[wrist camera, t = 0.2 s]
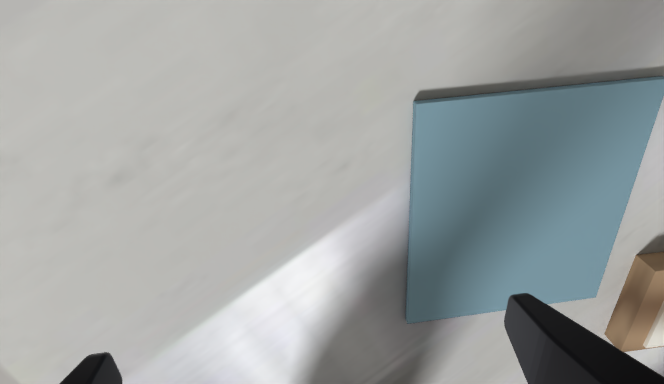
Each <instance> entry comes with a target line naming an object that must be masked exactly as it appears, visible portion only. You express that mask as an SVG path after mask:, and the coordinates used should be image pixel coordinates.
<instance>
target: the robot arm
mask: <svg viewBox="0 0 664 384" xmlns="http://www.w3.org/2000/svg"><path fill="white" fill-rule="evenodd" d="M504 324H505V329H506V332H507V334H508V336H509V339H510V341H511V344H512V346H513V349H514V351H515V353H516V356H517V358H518V361H519V363H520V366H521V368H522V370H523V373H524V375H525V378H526V380H527V382H528V384H664V377H663V376H661V375H660V374H658V373H657V372H655V371H653V370H652V369H650V368H648V367H647V366H645V365H644V364H642V363H640V362H639V361H637V360H636V359H634V358H632V357H631V356H629V355H628V354H626V353H624V352H623V351H621V350H619V349H618V348H616V347H615V346H613V345H611V344H610V343H608V342H607V341H605V340H603V339H602V338H600V337H599V336H597V335H595V334H594V333H592V332H590V331H589V330H587V329H586V328H584V327H582V326H581V325H579V324H578V323H576V322H574V321H573V320H571V319H570V318H568V317H566V316H565V315H563V314H561V313H560V312H558V311H557V310H555V309H553V308H552V307H550V306H549V305H547V304H545V303H544V302H542V301H541V300H539V299H537V298H536V297H534V296H533V295H531V294H528V293H520V294H513V295H511V296H510V297H509V299H508V303H507V308H506V313H505V319H504ZM60 384H122V377H121V374H120V372H119V370H118V368H117V366H116V363H115V361H114V359H113V357H112V355H111V354H110V353H108V352H104V353H97V354H91V355H89V356H87V357H86V358H85V359H84V360H83V361H82V362H81V363H80V364H79V365H78V366H77V367H76V368H75V369H74V370H73V371H72V372H71V373H70V374H69V375H68V376H67V377H66V378H65V379H64V380H63V381H62V382H61V383H60Z"/></svg>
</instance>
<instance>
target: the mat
mask: <svg viewBox="0 0 664 384" xmlns="http://www.w3.org/2000/svg"><path fill="white" fill-rule="evenodd" d="M663 96H664V77H663V76H658V77H648V78H638V79H628V80H618V81H609V82H599V83H589V84H579V85H569V86H559V87H549V88H539V89H529V90H519V91H509V92H499V93H489V94H479V95H470V96H460V97H450V98H440V99H430V100H420V101H414V102H413V129H412V157H411V184H410V212H409V240H408V267H407V295H406V321H407V324H410V323H417V322H424V321H431V320H438V319H446V318H453V317H460V316H467V315H474V314H481V313H488V312H495V311H502V310H506V308H507V303H508V299H509V297H510V296H511V295H513V294H520V293H528V294H531V295H533V296H534V297H536V298H537V299H539V300H541V301H542V302H544V303H545V304H552V303H559V302H566V301H573V300H580V299H587V298H594V297H596V295H597V292H598V289H599V286H600V283H601V280H602V277H603V274H604V271H605V268H606V265H607V262H608V259H609V256H610V253H611V250H612V247H613V244H614V241H615V238H616V235H617V233H618V230H619V227H620V224H621V221H622V218H623V215H624V212H625V209H626V206H627V203H628V200H629V197H630V194H631V191H632V188H633V185H634V182H635V179H636V176H637V173H638V170H639V167H640V164H641V161H642V158H643V155H644V152H645V149H646V146H647V143H648V140H649V137H650V134H651V132H652V129H653V126H654V123H655V120H656V117H657V114H658V111H659V108H660V105H661V102H662V99H663Z"/></svg>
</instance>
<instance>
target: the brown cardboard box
mask: <svg viewBox="0 0 664 384" xmlns="http://www.w3.org/2000/svg"><path fill="white" fill-rule="evenodd" d="M605 335H606V337H607V338H608V339H609V340H610V341H611V342H612V344H613V345H614V346H615V347H616V348H618V349H619V350H621V351H623V352H627V351H634V350H642V349H649V348H656V347H664V252H658V253H649V254H640V255H636V257H635V259H634V261H633V264H632V266H631V269H630V271H629V274H628V276H627V279H626V281H625V284H624V286H623V289H622V291H621V294H620V296H619V299H618V301H617V304H616V306H615V309H614V311H613V314H612V316H611V319H610V321H609V324H608V326H607V329H606V331H605Z"/></svg>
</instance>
